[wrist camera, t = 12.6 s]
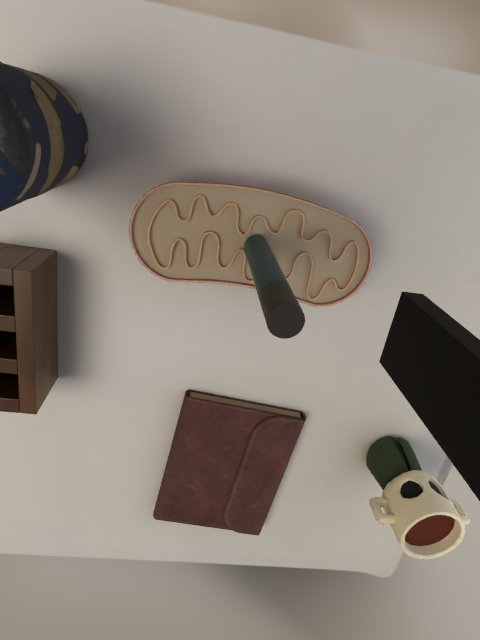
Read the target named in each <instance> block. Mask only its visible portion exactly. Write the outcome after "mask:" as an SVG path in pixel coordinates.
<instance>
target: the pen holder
mask: <svg viewBox="0 0 480 640" xmlns="http://www.w3.org/2000/svg"><path fill="white" fill-rule="evenodd" d="M12 286H14V287H12ZM57 378H58V348H57V251H56V250H49V249H40V248H33V247H25V246H18V245H9V244H3V243H0V411H4V412H16V413H28V414H37V412H38V410H39V409H40V407H41V405H42V404H43V402H44V400H45V398H46V397H47V395H48V393H49V392H50V390H51V388H52V387H53V385H54V383H55V381H56V380H57Z"/></svg>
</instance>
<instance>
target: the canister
mask: <svg viewBox="0 0 480 640" xmlns="http://www.w3.org/2000/svg"><path fill="white" fill-rule="evenodd" d="M87 149H88V133H87V127H86V123H85V120H84V118H83V115H82V113H81V111H80V109H79V107H78V106H77V104H76V103H75V101H74V100H73V99H72V97H71V96H70V95H69V94H68V93H67V92H66V91H65V90H64V89H63V88H62V87H61V86H60V85H58V84H57V83H55V82H54V81H52V80H51V79H49V78H47V77H44V76H42V75H39V74H37V73H34V72H30V71H27V70H24V69H21V68H18V67H14V66H10V65H7V64H3V63H1V62H0V211H3V210H5V209H7V208H9V207H12V206H14V205H16V204H18V203H21V202H23V201H25V200H27V199H30V198H33V197H36V196H38V195H41V194H43V193H45V192H47V191H49V190H51V189H53V188H55V187H58V186H60V185H62V184H64V183H66V182H67V181H69V180H70V179H71V178H72V177H73V176H74V175H75V174H76V173H77V172H78V171H79V169H80V168H81V166H82V165H83V162H84V160H85V157H86V154H87Z"/></svg>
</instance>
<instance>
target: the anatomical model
mask: <svg viewBox="0 0 480 640" xmlns="http://www.w3.org/2000/svg"><path fill="white" fill-rule="evenodd" d="M255 234H258V235H261V236H263V237H264V238H265V239H266V240H267V242H268V244H269V246H270V248H271V250H272V252H273V254H274V256H275V258H276V260H277V262H278V264H279V266H280V268H281V270H282V272H283V274H284V276H285V278H286V280H287V282H288V284H289V285H290V287H291V289H292V291H293V293H294V295H295V297H296V299H297V301H300V302H302V303H305V304H308V305H312V306H330V305H334V304H337V303H340V302H342V301H344V300H346V299H347V298H349V297H350V296H352V295H353V294H354V293H355V292H356V291H357V290H358V289H359V288H360V287H361V286H362V284H363V283H364V281H365V279H366V278H367V276H368V274H369V271H370V267H371V263H372V248H371V244H370V241H369V238H368V236H367V234H366V233H365V231H364V230H363V229H362V228H361V226H360V225H359V224H358V223H356V222H355V221H354V220H352V219H350V218H348V217H346V216H344V215H342V214H340V213H337V212H335V211H332V210H330V209H327V208H324V207H322V206H319V205H317V204H314V203H311V202H309V201H305V200H302V199H299V198H296V197H292V196H289V195H286V194H282V193H278V192H274V191H270V190H265V189H259V188H254V187H247V186H239V185H230V184H218V183H198V182H171V183H166V184H162V185H159V186H157V187H155V188H153V189H152V190H150V191H149V192H148V193H146V194H145V195H144V196H143V197H142V198H141V199H140V201H139V202H138V203H137V205H136V206H135V208H134V211H133V213H132V216H131V219H130V226H129V236H130V241H131V245H132V248H133V250H134V253H135V255H136V256H137V258H138V260H139V261H140V262H141V264H142V265H143V266H144V267H145V268H146V269H147V270H149V271H150V272H151V273H153V274H154V275H156V276H158V277H160V278H162V279H164V280H168V281H174V282H203V283H219V284H229V285H236V286H243V287H249V288H254V289H256V286H255V283H254V280H253V276H252V273H251V270H250V266H249V263H248V260H247V256H246V253H245V249H244V244H245V241H246V239H247V238H248V237H250V236H251V235H255Z"/></svg>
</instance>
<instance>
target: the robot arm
mask: <svg viewBox="0 0 480 640" xmlns="http://www.w3.org/2000/svg"><path fill="white" fill-rule="evenodd" d="M379 362H380V363H381V365H382V366H383V367H384V369H385V370H386V371H387V373H388V374H389V376H390V377H391V378H392V380H393V381H394V383H395V384H396V385H397V387H398V388H399V390H400V391H401V392H402V394H403V395H404V396H405V398H406V399H407V401H408V402H409V403H410V405H411V406H412V408H413V409H414V410H415V412H416V413H417V415H418V416H419V417H420V419H421V420H422V421H423V423H424V424H425V426H426V427H427V428H428V430H429V431H430V433H431V434H432V435H433V437H434V438H435V440H436V441H437V442H438V444H439V445H440V446H441V448H442V449H443V451H444V452H445V453H446V455H447V456H448V458H449V459H450V460H451V462H452V463H453V465H454V466H455V467H456V469H457V470H458V471H459V473H460V474H461V475H462V477H463V478H464V480H465V481H466V483H467V484H468V485H469V487H470V488H471V490H472V491H473V492H474V494H475V495H476V496H477V498H478V499H479V501H480V340H479V339H478V338H477V337H475V336H474V335H473V334H472V333H470V332H469V331H468V330H467V329H465V328H464V327H463V326H462V325H460V324H459V323H458V322H457V321H455V320H454V319H453V318H452V317H451V316H449V315H448V314H447V313H446V312H444V311H443V310H442V309H441V308H439V307H438V306H437V305H436V304H434V303H433V302H432V301H431V300H429V299H428V298H427V297H426V296H424V295H423V294H417V293H409V292H402V294H401V297H400V300H399V303H398V306H397V309H396V312H395V315H394V318H393V321H392V324H391V327H390V330H389V333H388V337H387V340H386V343H385V346H384V349H383V352H382V355H381V358H380V361H379Z"/></svg>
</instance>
